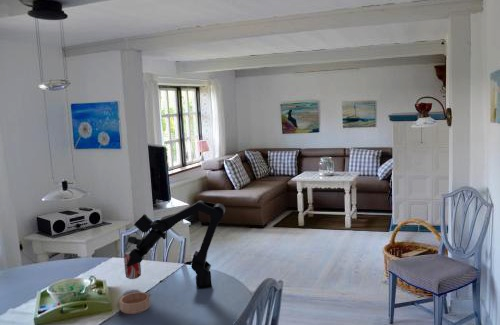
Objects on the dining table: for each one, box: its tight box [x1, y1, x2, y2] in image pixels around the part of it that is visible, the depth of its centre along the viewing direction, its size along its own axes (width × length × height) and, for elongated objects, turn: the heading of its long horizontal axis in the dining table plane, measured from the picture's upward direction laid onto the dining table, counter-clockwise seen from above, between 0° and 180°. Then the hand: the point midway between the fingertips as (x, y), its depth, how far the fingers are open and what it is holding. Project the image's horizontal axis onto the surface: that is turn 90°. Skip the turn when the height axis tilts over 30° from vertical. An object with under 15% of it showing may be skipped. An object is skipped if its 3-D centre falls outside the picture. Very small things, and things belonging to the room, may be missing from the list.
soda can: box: [123, 249, 142, 280], centre depth 217 cm, size 7×7×12 cm
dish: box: [119, 291, 151, 315], centre depth 197 cm, size 12×12×4 cm
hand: (129, 263), depth 217 cm, fingers closed on soda can, 7 cm apart
